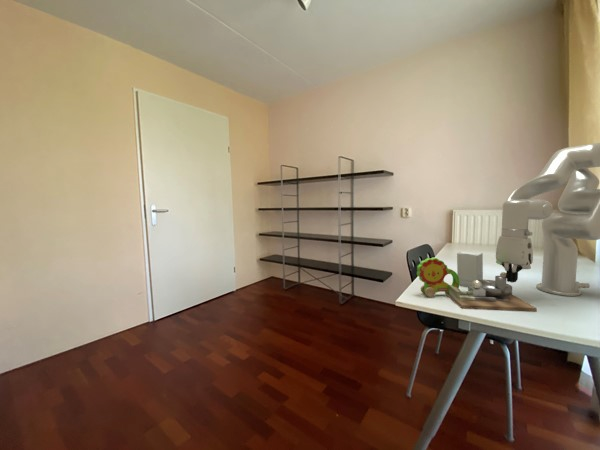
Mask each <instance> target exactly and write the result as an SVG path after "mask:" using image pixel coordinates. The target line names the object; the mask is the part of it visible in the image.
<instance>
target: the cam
mask: <svg viewBox="0 0 600 450" xmlns="http://www.w3.org/2000/svg"><path fill="white" fill-rule="evenodd" d="M478 281H480V282H481V283H482V286H481V288H483V289H485V290H486V293H485V294H489V295H494V296H495V297H497V298H501V299H504V298H505V297H506V296H509V295H513V286H512V285H510V284H509V283H507V278H506V271H505V272H504V271H502V272H500V273H499V275H495V277H494V279H483V280H478Z"/></svg>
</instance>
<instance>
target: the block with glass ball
mask: <svg viewBox="0 0 600 450" xmlns="http://www.w3.org/2000/svg"><path fill="white" fill-rule="evenodd" d="M481 286H482V283H481V282H480V281H478V280H474V281H473V282H472V286H467V291H468V295H469V296H470V297H485V293H486V290H485V289H483V288H481Z"/></svg>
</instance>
